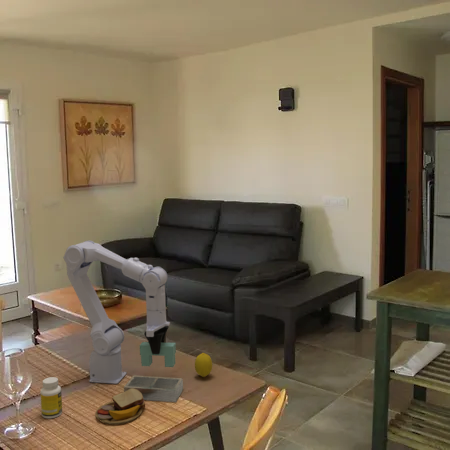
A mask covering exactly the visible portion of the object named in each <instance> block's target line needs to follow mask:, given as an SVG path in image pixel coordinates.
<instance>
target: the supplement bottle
mask: <svg viewBox="0 0 450 450" xmlns="http://www.w3.org/2000/svg"><path fill="white" fill-rule="evenodd" d="M39 394H40V409H41V417H43V419H54V418H57V417H59V416H61V415H62V413H63V400H62V399H63V398H62V397H63V396H62V387H61V385H59V379H58V377H55V376H54V377H53V376H50V377H46V378H44V379H43V380H42V388H40V393H39Z"/></svg>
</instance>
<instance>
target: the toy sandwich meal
mask: <svg viewBox="0 0 450 450" xmlns="http://www.w3.org/2000/svg"><path fill="white" fill-rule="evenodd" d="M111 399H112V401H109V402H105V403H104V404H102V405H101V406H99V407H98V408H97V409H96V410H95V417H96V419H97V420H99V421H100V422H101V423H103V424H106V425H122V424H126V423H130V422H132V421H134V420H136V419H137V418H138V417H139V416H140V415H141V414H142V412H143V408H144V409H145V407H146V400H144V399H143V396H142V394H141V392H140V391H138V390H137V389H134V388H131V389H129V390H127V391H125V392H124V391H123V392H121V393H118V394H115V395H114V396H112V397H111Z"/></svg>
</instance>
